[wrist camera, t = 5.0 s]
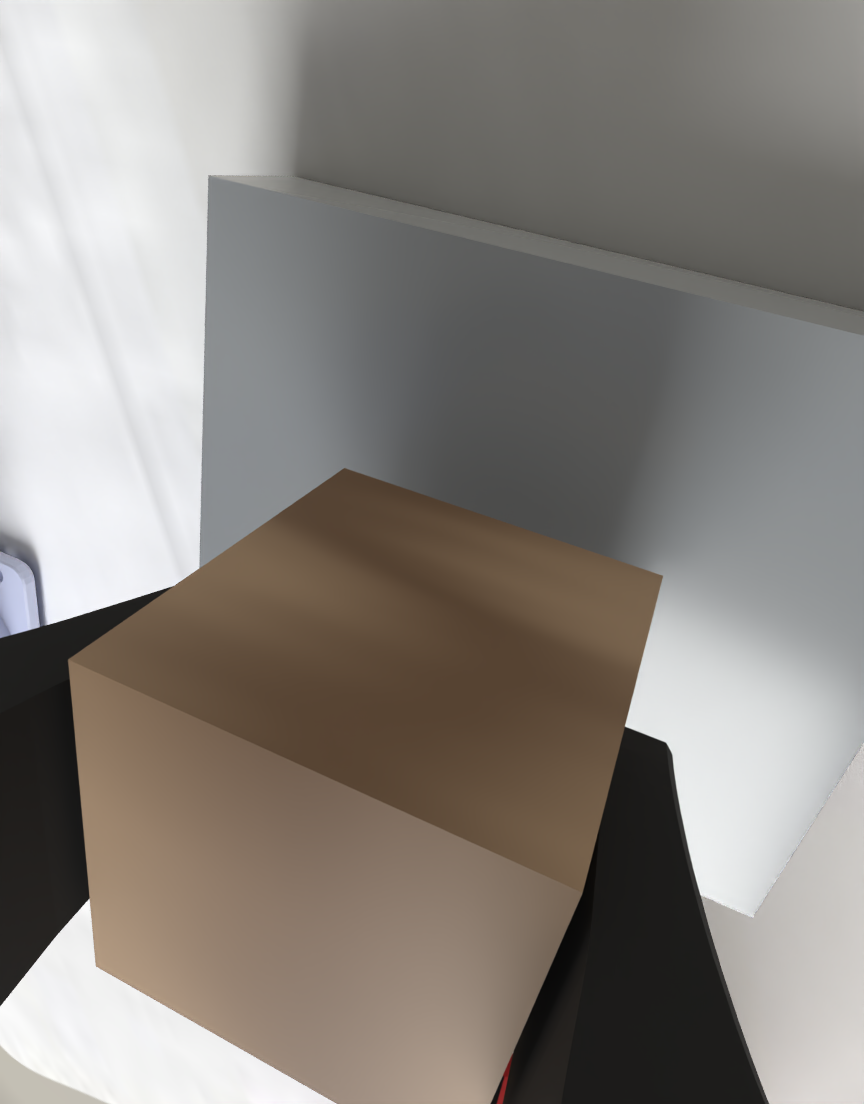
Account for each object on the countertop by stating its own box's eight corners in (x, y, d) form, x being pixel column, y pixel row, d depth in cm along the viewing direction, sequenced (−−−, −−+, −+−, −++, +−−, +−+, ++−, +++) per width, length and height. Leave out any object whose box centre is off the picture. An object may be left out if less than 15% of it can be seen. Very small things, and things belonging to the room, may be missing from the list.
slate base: (260, 620, 19) (197, 675, 17) (292, 176, 14) (208, 175, 12) (753, 820, 16) (752, 918, 14) (1023, 349, 11) (1086, 390, 9)
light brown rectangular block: (313, 707, 13) (96, 965, 9) (344, 468, 10) (68, 660, 6) (568, 817, 12) (459, 1173, 8) (663, 575, 9) (582, 893, 5)
